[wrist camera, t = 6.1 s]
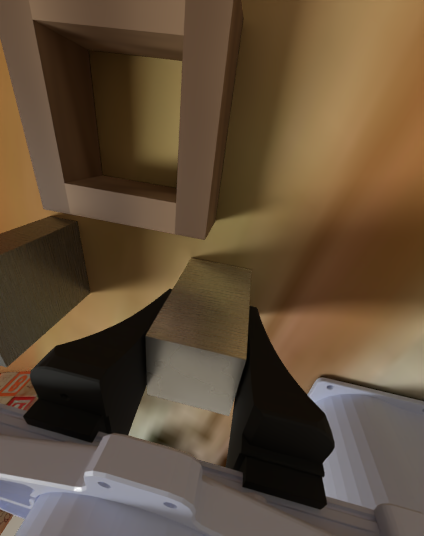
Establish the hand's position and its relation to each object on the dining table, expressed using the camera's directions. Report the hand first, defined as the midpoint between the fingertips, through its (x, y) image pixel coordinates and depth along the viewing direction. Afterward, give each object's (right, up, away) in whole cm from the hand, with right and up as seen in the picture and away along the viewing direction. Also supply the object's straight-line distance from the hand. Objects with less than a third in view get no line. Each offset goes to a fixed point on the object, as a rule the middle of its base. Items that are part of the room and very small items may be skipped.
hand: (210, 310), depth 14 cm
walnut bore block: (-3, +10, -2) cm, 11 cm away
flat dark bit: (-10, +3, +3) cm, 11 cm away
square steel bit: (0, +1, +2) cm, 2 cm away
